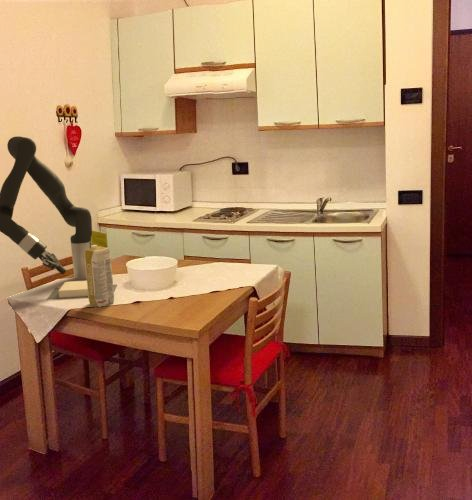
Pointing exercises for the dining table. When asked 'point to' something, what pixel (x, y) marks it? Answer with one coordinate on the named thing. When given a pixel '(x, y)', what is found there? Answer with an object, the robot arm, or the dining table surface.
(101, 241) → the food package
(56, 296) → the mat
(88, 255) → the juice carton
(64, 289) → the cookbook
